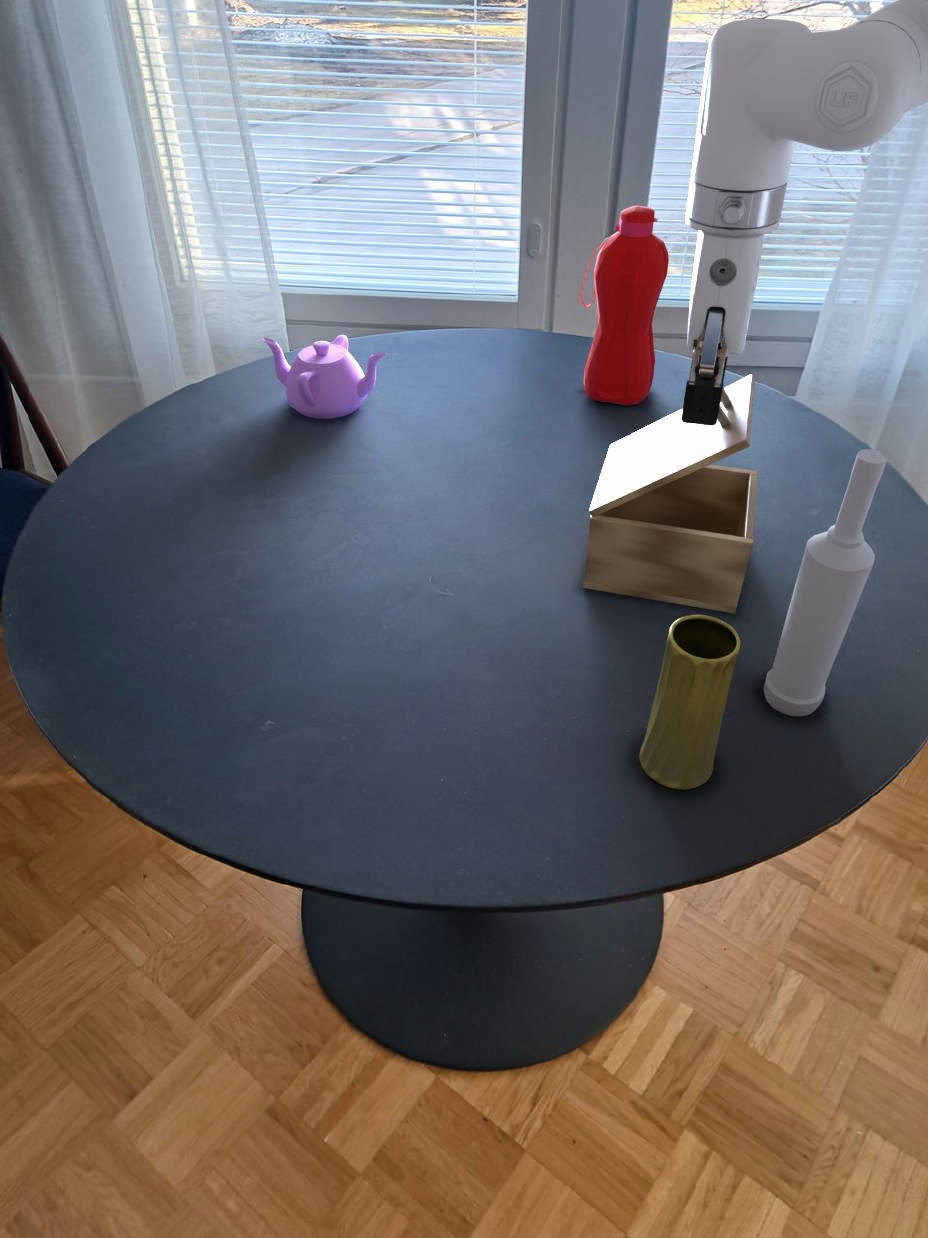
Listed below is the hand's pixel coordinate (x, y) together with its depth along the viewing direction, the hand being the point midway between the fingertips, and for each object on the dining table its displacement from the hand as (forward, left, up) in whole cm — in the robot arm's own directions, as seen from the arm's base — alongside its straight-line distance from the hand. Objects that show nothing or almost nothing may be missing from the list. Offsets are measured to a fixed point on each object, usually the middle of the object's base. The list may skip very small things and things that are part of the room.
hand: (701, 406), depth 83 cm
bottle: (-12, +17, -19) cm, 29 cm away
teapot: (+51, -25, -19) cm, 60 cm away
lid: (+2, 0, -5) cm, 5 cm away
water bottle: (+13, -39, -19) cm, 45 cm away
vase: (-3, +28, -19) cm, 34 cm away
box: (+1, 0, -19) cm, 19 cm away
